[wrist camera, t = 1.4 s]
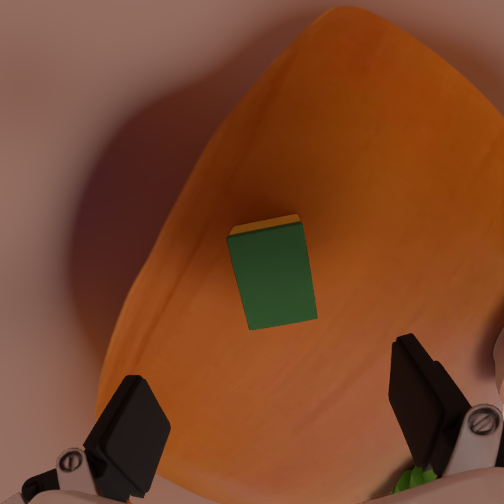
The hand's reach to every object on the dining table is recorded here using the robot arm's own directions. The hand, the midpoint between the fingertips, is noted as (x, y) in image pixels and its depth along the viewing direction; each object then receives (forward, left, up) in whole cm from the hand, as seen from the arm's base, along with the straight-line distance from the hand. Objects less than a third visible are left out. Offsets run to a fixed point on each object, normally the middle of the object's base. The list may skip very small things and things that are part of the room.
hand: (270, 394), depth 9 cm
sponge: (0, 0, -14) cm, 14 cm away
